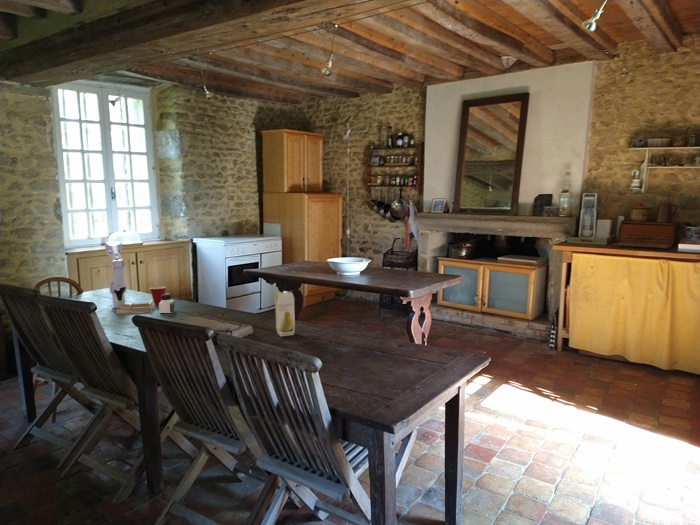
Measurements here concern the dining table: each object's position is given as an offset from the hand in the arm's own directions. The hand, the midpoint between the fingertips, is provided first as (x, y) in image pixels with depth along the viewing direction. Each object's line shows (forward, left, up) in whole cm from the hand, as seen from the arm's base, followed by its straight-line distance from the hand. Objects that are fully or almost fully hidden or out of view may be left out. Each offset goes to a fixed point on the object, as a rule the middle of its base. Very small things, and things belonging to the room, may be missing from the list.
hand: (120, 299), depth 311 cm
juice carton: (+79, +93, -9) cm, 122 cm away
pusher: (0, +6, -7) cm, 10 cm away
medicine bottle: (+10, +28, -9) cm, 31 cm away
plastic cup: (-16, +21, -9) cm, 28 cm away
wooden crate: (0, +8, -8) cm, 12 cm away
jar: (0, 0, -2) cm, 2 cm away
